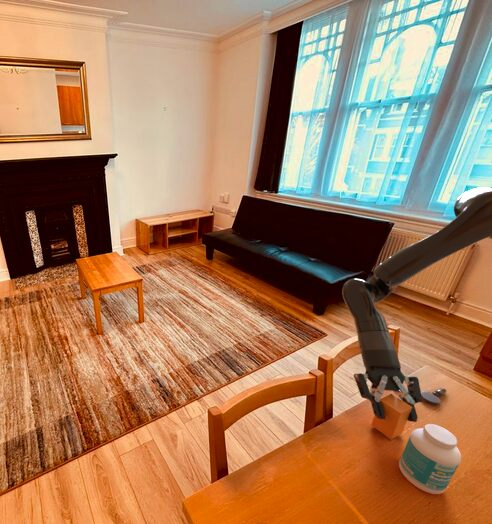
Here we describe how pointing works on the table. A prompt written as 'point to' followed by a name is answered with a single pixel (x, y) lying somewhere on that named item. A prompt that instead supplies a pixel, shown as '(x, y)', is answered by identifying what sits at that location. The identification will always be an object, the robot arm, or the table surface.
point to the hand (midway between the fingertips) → (396, 419)
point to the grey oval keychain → (433, 396)
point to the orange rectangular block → (392, 416)
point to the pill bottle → (430, 458)
